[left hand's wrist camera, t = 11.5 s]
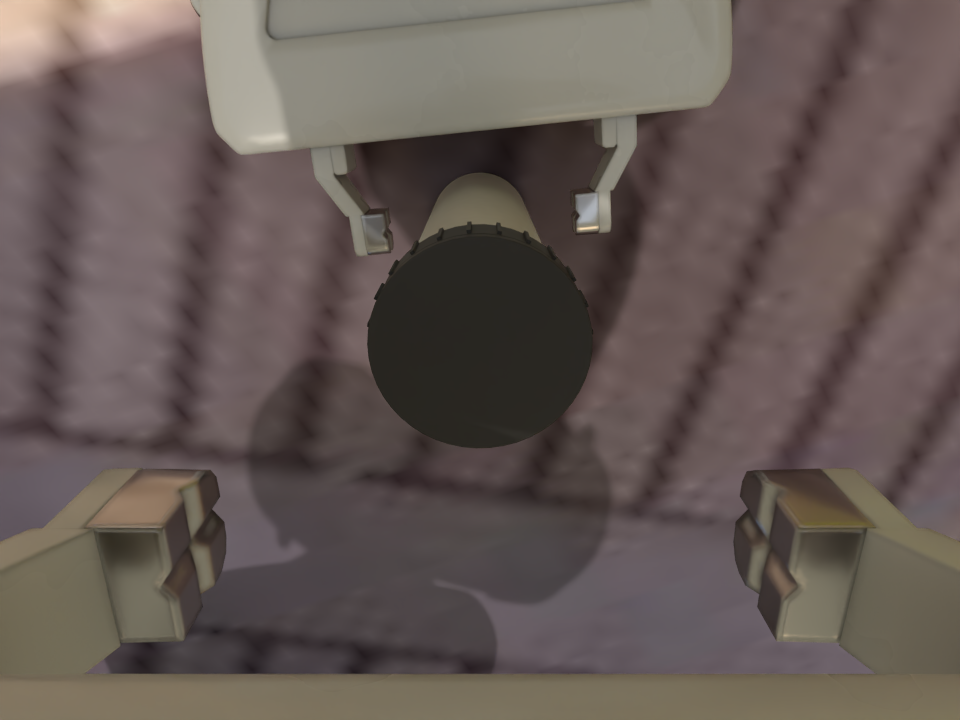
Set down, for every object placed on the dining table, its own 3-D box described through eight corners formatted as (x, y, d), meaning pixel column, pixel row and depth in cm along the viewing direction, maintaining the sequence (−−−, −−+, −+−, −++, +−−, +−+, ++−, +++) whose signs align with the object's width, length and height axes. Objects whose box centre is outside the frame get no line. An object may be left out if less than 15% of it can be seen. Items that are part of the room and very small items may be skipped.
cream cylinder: (415, 201, 34) (348, 304, 17) (500, 154, 34) (522, 212, 16) (460, 283, 36) (443, 457, 18) (543, 240, 35) (606, 379, 18)
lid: (335, 283, 18) (320, 302, 16) (526, 180, 17) (531, 189, 15) (439, 452, 20) (435, 484, 18) (618, 366, 19) (631, 392, 17)
